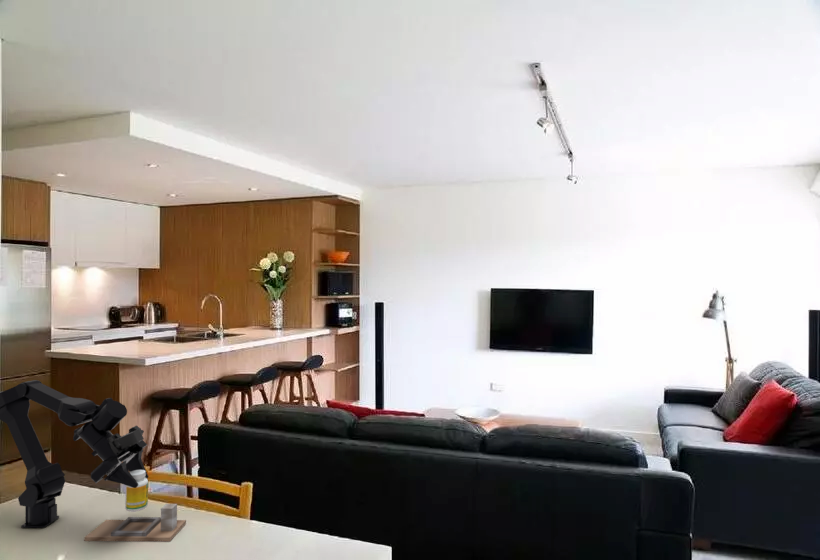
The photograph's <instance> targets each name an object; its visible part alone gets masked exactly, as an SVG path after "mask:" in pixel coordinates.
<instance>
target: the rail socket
mask: <svg viewBox="0 0 820 560" xmlns="http://www.w3.org/2000/svg"><path fill="white" fill-rule="evenodd" d="M186 524H187V520H186V519H185V520H184V519H183V520H182V519H178V503H165V504H164V505H162V507H161V508H160V516H159V517H158V516H152V517H151V516H150V517H149V516H140V517H139V516H128V517H127V518H126V519H105V520H104V521H103V522H101V523H100V524H99V525H98V526H96V527H95V528H94V529H93V530H92V531H90V532H89V533H87V534H86V535H85V536H84V542H171V541H172V540H173V539H174V537H175V536H176V535H178V533H179V532H180V531H181V530H182V528H184V527H185V525H186Z"/></svg>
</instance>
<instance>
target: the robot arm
mask: <svg viewBox="0 0 820 560" xmlns="http://www.w3.org/2000/svg"><path fill="white" fill-rule="evenodd" d="M30 401H33V402H35V403H37V404H39V405H41V406H43V407H45V408H46V409H49V410H51V411H53V412H54V413H56V414H57V416H58V420H60V421H61V422H63V423H64V424H65V425H66V426H69V427H74V426H79V425H82V424H83V425H82V426H81V427H78V428H76V429H74V430H73V437H72V440H73V441H74V442H76V441H78V440H79V439H82V440H83V442H85V444H87V445H88V446H89V447H90V448H91V449H92V452H91V455H92V456H93V457H95V456H98V457H99V458H100V459H101V460H102V462H101V463H100V464H99V465H97V466H96V468H94V469H93V470H92V471H91V472H90V479H91V480H92V481H93V483H95V484H97V483H98V482H100V481H102V480H104V481H105V482H106V481H110V482H113V483H117V484H121V485H124V486H126V485H127V486H130V487H133V488H136V487H137V486H138V483H137V482H136V480H135V479H134V478H133V476H132V475H131V474H130V472H131V471H134V470H145V472H146V476H145V478H147V479H149V474H148V472H147V469H146V467H145V465H144V463H143V459H142V457H143V456H142V455H143V452H144V449H145V448H146V447H147V446H148V444H147V443H146V442H145V441H144V440H145V438H144V436H143V434H145V433H144V430H143V429H142V428H141V427H139V426H138V425H134V426H133V427H129V429H128V433H126V434H123V435H120V434H119V433H118V432H117V433H114V434H113V433H112V432H111V431H112V430H113V429H115V427H117V425H118V424H119V423H120V422H121V421H122V420H123V419H124V418H125V417H126V416H127V414H128V409H127V407H126V406H125V404H123V403H122V402H120V401H118V400H113V398H112V397H108V398H105V399H104V400H103V401H102V402H101V404H100V405H99V404H96V402H94V401H93V400H92V399H91V400H90V399H88V398H87V399H86V398H82V397H71V396H68V395H67V394H65V393H63V392H60V391H57V390H56V389H54V388H52V387H50V386H48V385H45V384H43V383H42V381H40V380H38V379H33V380H28V381H23V382H21V383H19V384H17V385H15V386H13V387H11V388H9V389H6V390H3V391H0V421H2V422H3V423H5V424H6V425H7V427H8V429H9V432H10V434H11V437H12V439H13V441H14V443H15V445H16V447H17V450H18V453H19V454H20V456H21V457H20V458H21V460H22V461H23V464H24V466H25V468H26V476H25V480H24V484H25V489H24V491H23V492H21V494H20V495H19V496H18V498H17V499H18V503H19V506H21V507H25V511H24V515H25V517H24V518H25V519H24V520H25V521H24V523H23V524H22V525H20V527H21V528H23V529H24V528H25V529H27V528H28V529H30V528H31V529H33V528H35V529H36V528H38V529H40V528H41V529H42V528H43V529H44V528H46V527H48V526H49V525H51V524H52V523H54V522H55V521H56V520H58V519H60V515H58V504H57V502H56V499H57V498H56V497H60V496H61V495H62V492H63V490H64V486H65V483H66V478H65V477H64V476H65V475H66V474H65V473H64V472H63V470H62V466H61V464H60V463H59V462H56V463H52V462H50V461H49V460H48V458H47V456H46V454H45V451H44V449H43V446H42V444H41V442H40V440H39V437H38V435H37V433H36V431H35V429H34V427H33V424H32V422H31V420H30V418H29V410H30V407H31V403H30ZM104 476H105V478H104Z"/></svg>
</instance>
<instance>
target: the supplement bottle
mask: <svg viewBox="0 0 820 560" xmlns="http://www.w3.org/2000/svg"><path fill="white" fill-rule="evenodd" d="M146 472H147V471H146ZM146 472H145V470H134V471H131V472H130V471H129V473H130V474H131V475H132V476H133V478H134V479H135V480H136V482H137V483H138V486H137V487H136V488H133V487H130V486H127V485H125V503H124V504H125V508H124V509H125V510H126V511H127V512H131V513H134V512H139V511H144V510H145V509H146V508H147V507H148V503H149V499H148V498H149V480H148V478H145V476H146Z"/></svg>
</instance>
